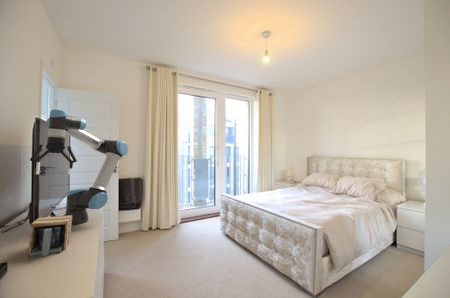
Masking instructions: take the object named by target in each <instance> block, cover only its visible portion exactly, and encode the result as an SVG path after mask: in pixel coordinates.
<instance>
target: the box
mask: <svg viewBox="0 0 450 298" xmlns="http://www.w3.org/2000/svg"><path fill="white" fill-rule="evenodd" d="M50 228H52V234H51V246H50V248H58V247H59V246H60V244H61V240H62V230H63V224H62V225H51V226H43V227H42V228H41V232H40V242H39V250H42V247H43V236H44V230H45V229H50Z"/></svg>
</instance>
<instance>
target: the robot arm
mask: <svg viewBox="0 0 450 298" xmlns="http://www.w3.org/2000/svg"><path fill="white" fill-rule="evenodd" d="M48 116H49V117H48V118H47V120H46V126H47V128H48V131H47V132H48V133H47V136H48V137H47V140H46V141H47V142H46V144H39V145H38V148H37V150H36V151H35V152H34V153H33V154H32V156H31V157H30V159H29V161H31V162H33V168H34V169H36V170H35V175H39V174H40V169H41V162H40V161H41V160H42V159H44V158H45V157H46V156H47V155H49V154H50V153H51V154H61V155H62V156H63V157H64V158H65V159H66V160H67V161H68V163H67V173H66V174H67V175H70V174H71V170H72V169H73V166H74V163H77V162H78V160H77V158H76V156H75V155H74V152H73V150H72V146H71V145H67V146H66V145H65V143H66V142H65V141H66V138H65V137H66V135H68V136H70V137H72V138H74V139H76V140H77V141H80V142H81V143H84V144H86V145H88V146H89V147H90V148H91V149H93V150H94V151H97V152H99V153H101V154H104V155H105V156H106V157H105V160H104V161H103V163H102V165H101V167H100V170H99V172H98V174H97V176H96V178H95V180H94V182H93V184H92V185H91V186H90V187H88V188H87V187H86V188H74V189H70V190H68V191H67V195H66V206H65V209H66V210H65V213H64V214H63V216H65V215H72V225H71V226H74V225H81V224H85V223H87V222H88V221H89V218H90V217H89V214H88V211H87V209H89V210H100V209H102V208H103V207H104V206H105V205H106V204H107V202H108V201H109V199H108V191H107V187H108V185H109V183H110V181H111V178H112V176H113V173H114V171H115V169H116V166H117V165H118V162H119V160H121V159H123V156H127V154H128V152H129V146H128V143H127V142H126V141H124V140H111V139H110V140H109V139H102V138H101V137H96V136H94V135H92V134H91V133H89V132H87V131H86V130H85V129H86V127H87V121H86V120H85V119H83V118H80V117H76V116H70V115H68V111H66V110H63V109H54V108H53V109H51V110H50V112H49V115H48ZM45 148H46V150H45V152H43V153H42V154H41V155H40V153H41V152H42V151H43V149H45ZM64 150H67V151H68V153H69V155H70V157H69V155H67V153H66V152H65V151H64Z"/></svg>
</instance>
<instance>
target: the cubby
mask: <svg viewBox="0 0 450 298" xmlns="http://www.w3.org/2000/svg"><path fill="white" fill-rule="evenodd" d="M64 215H65V214H64ZM64 215H55V216H53V215H52V216H42V217H39V216H38V217H37V219H35V220H34V221H33V222H32V223H30V231H29V243H28V251H27V252H28V253H27V254H28V255H27V256H30V253H31V252H32V251H33V250H34V249H35V248H36V246H37V245H38V244H39V242H40V232H41V228H42V227H43V226H51V225H62V224H63V230H62V239H64V247H63V250H64V251H66V250H67V248H68V246H69V244H70V242H71V236H72V226H73V225H72V215H65V216H64Z"/></svg>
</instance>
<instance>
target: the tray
mask: <svg viewBox="0 0 450 298" xmlns="http://www.w3.org/2000/svg"><path fill="white" fill-rule="evenodd" d="M51 234H52V228H50V229H45V230H44V236H43V247H42V250H39V244H38V245H37V246H36V248H35V249H34V250H33V251H32V252H31V253H30V255H29V258H34V257H46V256H49V255H55V254H61V252H62V250H64V239H62V240H61V244H60V246H59V247H58V248H50V246H51Z"/></svg>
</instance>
